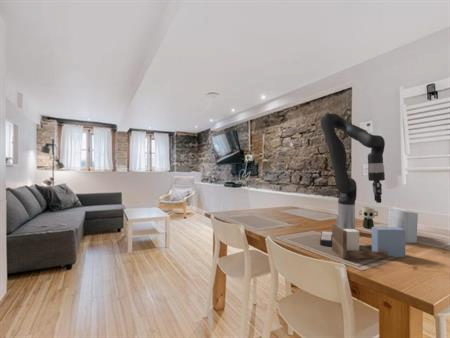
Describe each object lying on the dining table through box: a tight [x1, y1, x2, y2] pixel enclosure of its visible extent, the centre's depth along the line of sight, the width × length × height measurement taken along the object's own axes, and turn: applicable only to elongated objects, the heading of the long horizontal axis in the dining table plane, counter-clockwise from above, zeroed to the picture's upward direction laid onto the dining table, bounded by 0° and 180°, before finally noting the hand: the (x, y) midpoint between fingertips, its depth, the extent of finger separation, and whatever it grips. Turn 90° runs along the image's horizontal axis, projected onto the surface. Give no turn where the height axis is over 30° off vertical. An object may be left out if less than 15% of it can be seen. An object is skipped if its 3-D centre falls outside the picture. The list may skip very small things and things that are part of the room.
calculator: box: [319, 231, 332, 247], centre depth 125 cm, size 11×4×15 cm
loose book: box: [371, 226, 406, 258], centre depth 107 cm, size 12×4×12 cm, turn 88°
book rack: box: [331, 224, 389, 260], centre depth 107 cm, size 20×11×12 cm, turn 88°
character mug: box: [358, 206, 379, 229], centre depth 157 cm, size 11×7×13 cm, turn 61°
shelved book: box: [344, 228, 360, 251], centre depth 108 cm, size 7×4×11 cm, turn 88°
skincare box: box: [387, 206, 419, 244], centre depth 134 cm, size 21×6×16 cm, turn 168°
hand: (377, 201), depth 129 cm, fingers open, 8 cm apart
